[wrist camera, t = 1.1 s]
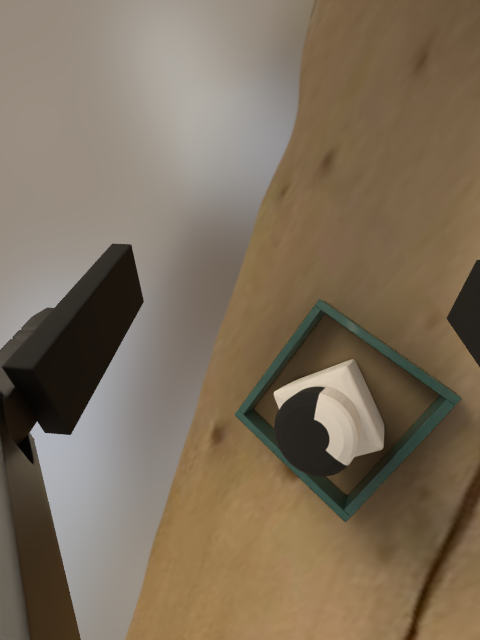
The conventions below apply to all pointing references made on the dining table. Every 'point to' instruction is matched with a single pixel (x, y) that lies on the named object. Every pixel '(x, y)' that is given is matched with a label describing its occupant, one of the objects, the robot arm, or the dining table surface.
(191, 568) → the dining table surface
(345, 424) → the medicine bottle
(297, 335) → the tray
